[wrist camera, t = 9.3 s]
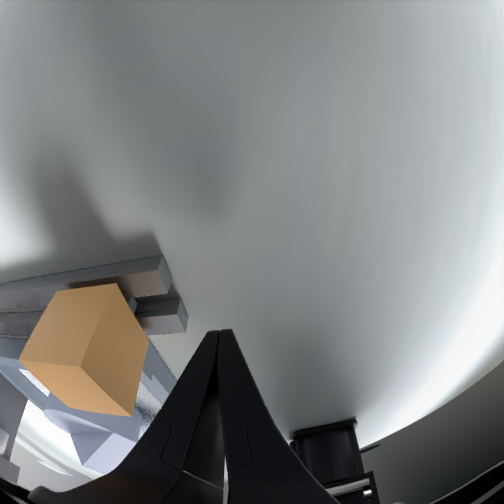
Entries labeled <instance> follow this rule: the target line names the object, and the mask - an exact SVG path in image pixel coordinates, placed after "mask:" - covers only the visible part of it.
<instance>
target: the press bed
mask: <svg viewBox="0 0 504 504" xmlns="http://www.w3.org/2000/svg"><path fill="white" fill-rule="evenodd" d="M27 341H28V340H27V339H12V338H1V337H0V475H1V476H2V477H4V478H6V479H8V480H10V481H12V482H14V483H16V484H17V481H18V475H19V470H20V467H18V466H16V465H15V464H13V463H11V462H10V461H9V460H10V456H11V452H12V448H13V444H14V441H15V437H16V434H17V431H18V427H19V424H20V421H21V418H22V415H23V412H24V409H25V406H26V403H27V401H28V399H29V400H30V401H31V402H32V403H34V404H35V405H36V406H37V407H39V408H40V409H41V410H42V411H44V408H45V405H46V402H47V399H48V398H47V397H46V396H45V395H44V394H43V393H42V392H41V391H40V390H38V389H37V388H36V387H35V386H34V385H33V384H32V383H31V382H30V381H29V380H28V379H27V378H26V377H25V376H24V375H23V374H22V373H21V372H20V371H19V370H18V369H17V368H20V369H25V370H28V369H27V368H26V367H25V366H24V365H23V364H22V363H21V362H20V361H19V357H20V355H21V353H22V351H23V349H24V347H25V345H26V343H27ZM140 381H141V382H142V383H143V385H144V386H145V387H146V388H147V389H148V390H149V391H150V392H151V394H152V395H153V396H154V397H155V398H156V399H157V400H158V401H159V402H160V403H161V404H162V405H163V404H164V402H165V401H166V399H167V397H168V396H169V394H170V392H171V391H172V389H173V388H174V386H175V384H176V383H177V380H176V379H175V378H174V376H173V375H172V373H171V372H170V370H169V369H168V368H167V366H166V365H165V363H164V362H163V360H162V359H161V357H160V356H159V354H158V353H157V351H156V350H155V348H154V347H153V345H152V344H151V342H150V340H149V345H148V349H147V353H146V357H145V361H144V365H143V369H142V373H141V378H140Z"/></svg>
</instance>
